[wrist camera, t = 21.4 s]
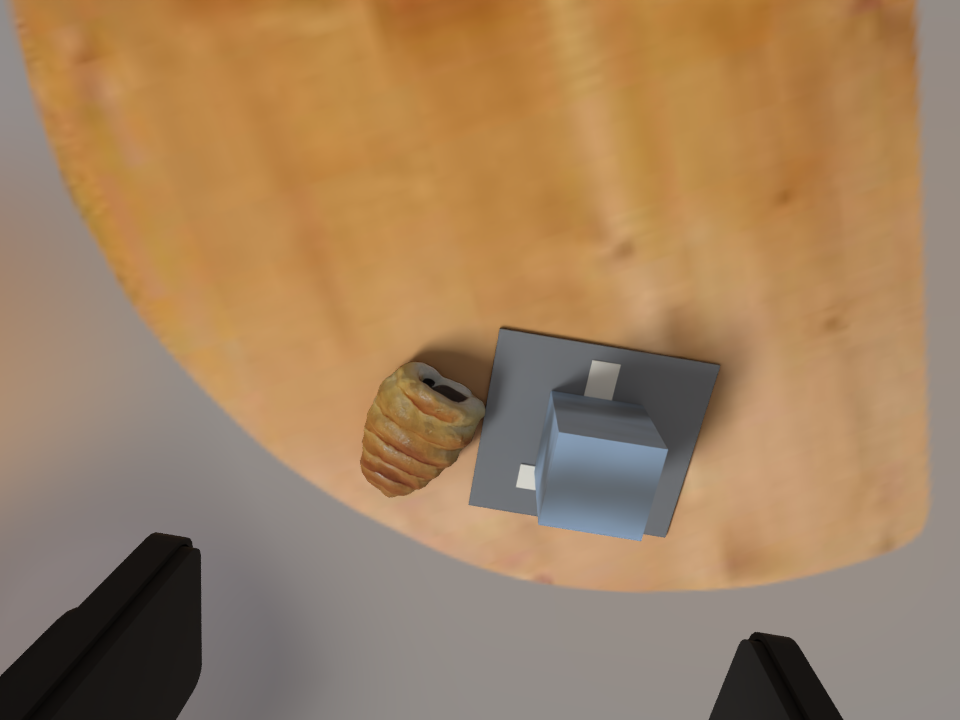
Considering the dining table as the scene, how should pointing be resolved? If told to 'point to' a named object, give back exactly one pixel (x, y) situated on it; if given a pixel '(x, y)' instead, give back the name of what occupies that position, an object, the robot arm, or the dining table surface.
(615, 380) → the board
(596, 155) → the dining table surface
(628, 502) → the slate blue cube
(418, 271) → the dining table surface
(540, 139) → the dining table surface
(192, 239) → the dining table surface
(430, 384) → the pastry
